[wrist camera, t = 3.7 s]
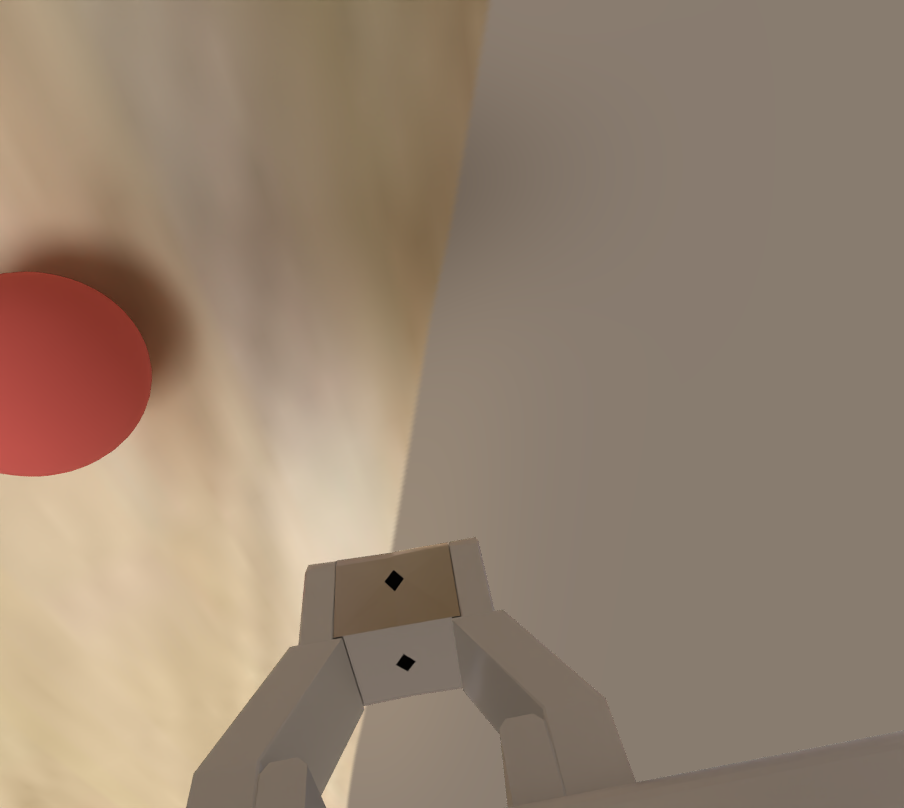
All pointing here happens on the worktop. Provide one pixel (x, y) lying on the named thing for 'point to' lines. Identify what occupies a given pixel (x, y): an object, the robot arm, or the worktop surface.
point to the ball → (65, 374)
